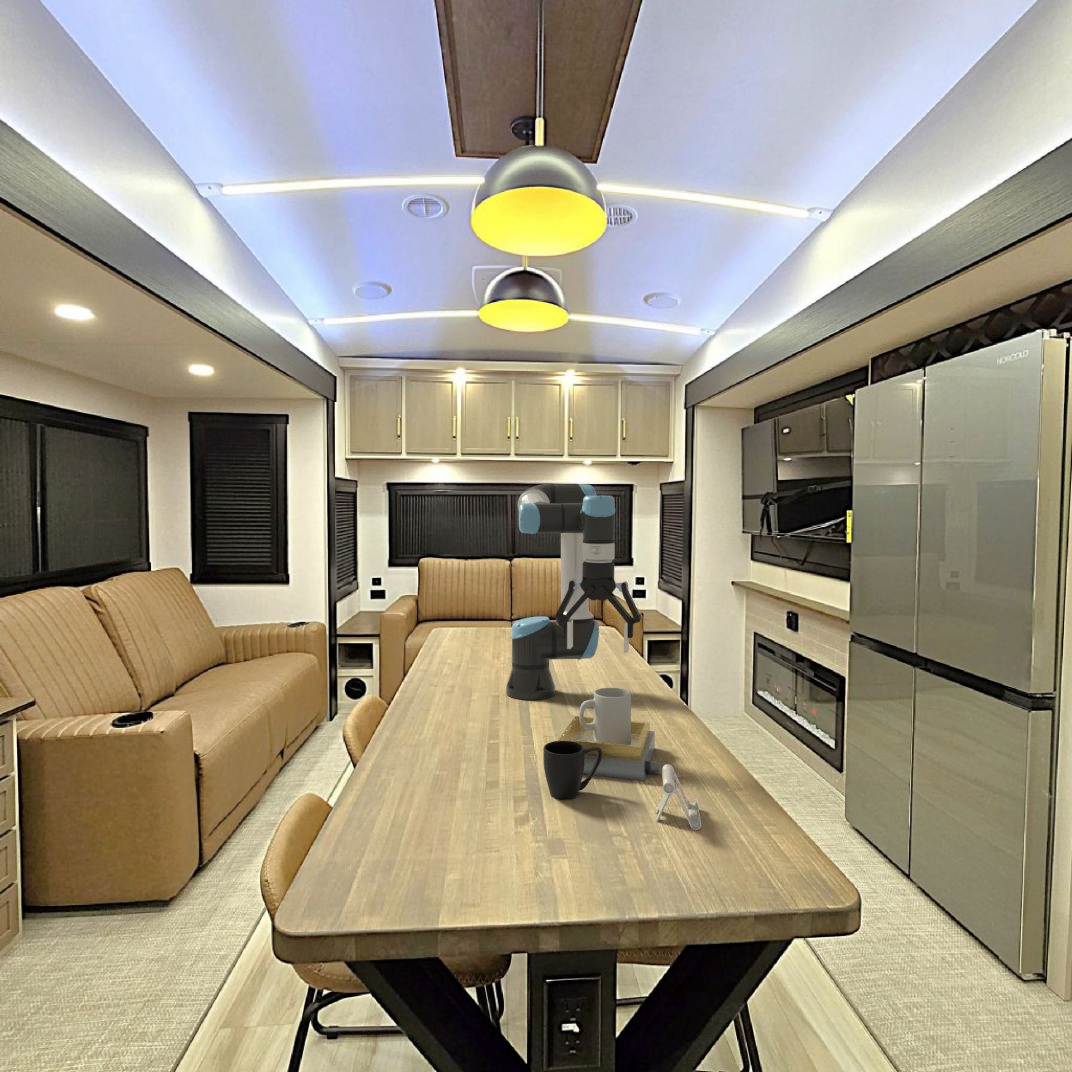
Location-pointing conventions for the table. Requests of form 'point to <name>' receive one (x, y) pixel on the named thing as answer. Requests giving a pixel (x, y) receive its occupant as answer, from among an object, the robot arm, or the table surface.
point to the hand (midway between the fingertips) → (597, 649)
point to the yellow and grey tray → (617, 751)
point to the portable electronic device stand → (671, 788)
